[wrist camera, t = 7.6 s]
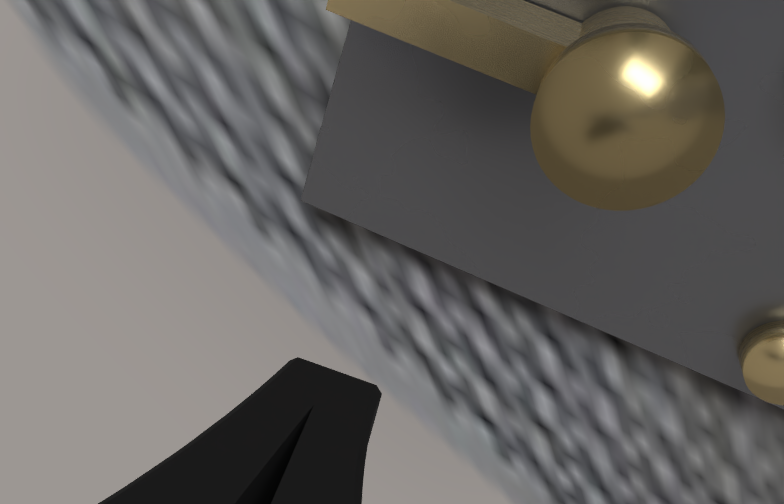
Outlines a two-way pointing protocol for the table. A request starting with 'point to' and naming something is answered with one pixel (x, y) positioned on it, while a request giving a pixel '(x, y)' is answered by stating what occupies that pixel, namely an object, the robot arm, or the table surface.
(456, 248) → the base plate
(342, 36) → the table surface
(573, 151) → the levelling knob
